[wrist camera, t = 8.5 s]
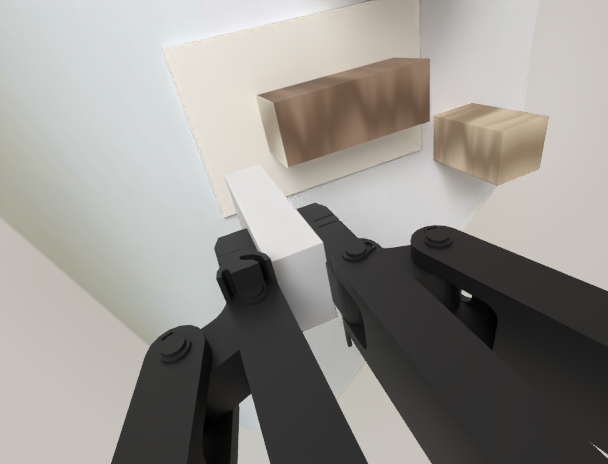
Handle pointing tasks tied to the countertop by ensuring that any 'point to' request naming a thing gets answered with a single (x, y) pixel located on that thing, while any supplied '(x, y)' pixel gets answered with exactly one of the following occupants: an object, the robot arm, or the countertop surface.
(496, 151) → the beech block
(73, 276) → the countertop surface
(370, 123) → the walnut block
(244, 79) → the board
